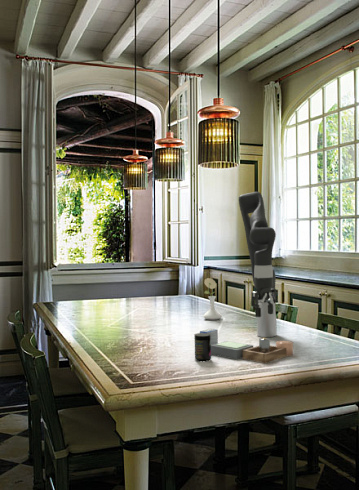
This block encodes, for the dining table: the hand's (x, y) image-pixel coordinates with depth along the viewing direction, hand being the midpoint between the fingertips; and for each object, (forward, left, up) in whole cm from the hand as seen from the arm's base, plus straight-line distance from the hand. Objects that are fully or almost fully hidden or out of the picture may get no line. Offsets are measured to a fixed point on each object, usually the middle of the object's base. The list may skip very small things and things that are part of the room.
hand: (264, 315), depth 208 cm
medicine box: (+3, -28, -18) cm, 33 cm away
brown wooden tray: (0, 0, -17) cm, 17 cm away
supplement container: (+19, -17, -18) cm, 31 cm away
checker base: (+4, -14, -17) cm, 23 cm away
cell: (0, 0, -16) cm, 16 cm away
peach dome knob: (-10, +3, -17) cm, 20 cm away
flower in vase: (-59, -81, -18) cm, 102 cm away
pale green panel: (+4, -14, -15) cm, 21 cm away
